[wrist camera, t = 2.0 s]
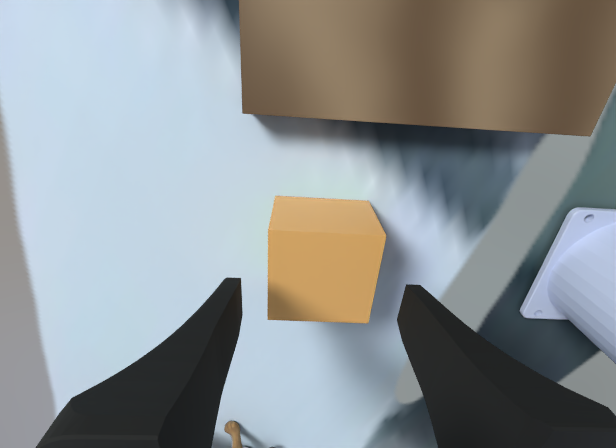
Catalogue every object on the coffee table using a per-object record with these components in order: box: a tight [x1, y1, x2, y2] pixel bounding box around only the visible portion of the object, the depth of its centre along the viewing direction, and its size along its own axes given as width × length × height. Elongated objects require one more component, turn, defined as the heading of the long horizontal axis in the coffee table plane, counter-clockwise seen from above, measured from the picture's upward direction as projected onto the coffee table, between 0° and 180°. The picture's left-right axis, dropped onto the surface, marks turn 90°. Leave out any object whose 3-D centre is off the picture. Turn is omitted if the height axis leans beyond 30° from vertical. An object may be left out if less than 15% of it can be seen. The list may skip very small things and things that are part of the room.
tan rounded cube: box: [268, 196, 386, 323], centre depth 16 cm, size 5×5×4 cm
